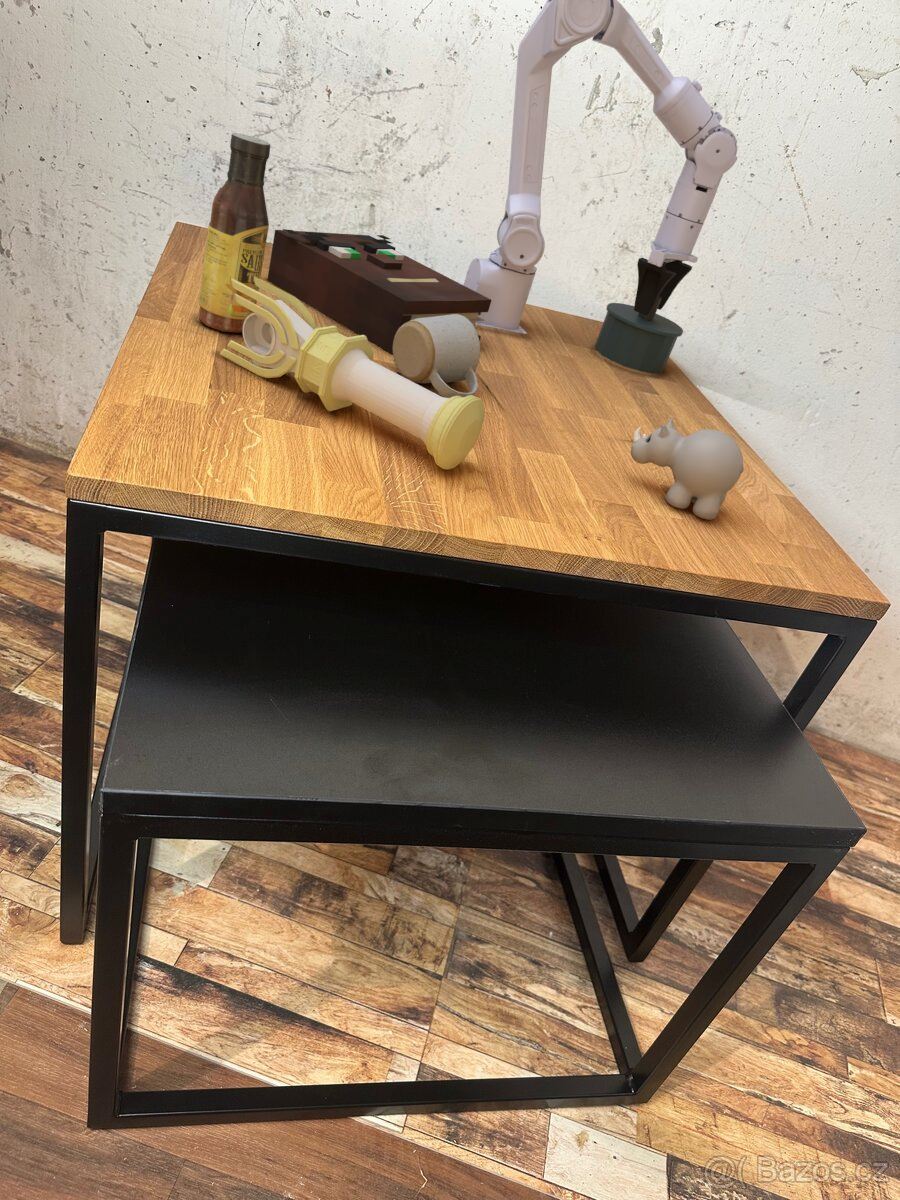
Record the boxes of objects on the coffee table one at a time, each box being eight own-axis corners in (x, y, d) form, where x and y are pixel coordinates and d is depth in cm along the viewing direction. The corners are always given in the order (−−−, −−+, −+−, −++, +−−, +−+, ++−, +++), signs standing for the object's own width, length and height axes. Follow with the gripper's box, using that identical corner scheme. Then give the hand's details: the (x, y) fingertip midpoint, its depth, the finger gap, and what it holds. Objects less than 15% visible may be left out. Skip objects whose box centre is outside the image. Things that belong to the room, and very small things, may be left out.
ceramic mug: (381, 367, 103) (397, 304, 98) (429, 364, 108) (446, 304, 104) (441, 408, 98) (461, 343, 93) (488, 403, 103) (509, 341, 99)
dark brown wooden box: (414, 301, 102) (257, 216, 115) (399, 363, 106) (249, 273, 119) (512, 300, 116) (361, 224, 129) (495, 354, 120) (351, 275, 133)
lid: (625, 332, 126) (637, 300, 124) (592, 304, 135) (603, 274, 133) (694, 346, 131) (707, 316, 128) (657, 318, 140) (669, 290, 137)
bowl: (611, 369, 130) (628, 327, 126) (582, 342, 138) (597, 302, 135) (673, 381, 134) (691, 341, 131) (641, 353, 142) (657, 315, 139)
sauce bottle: (239, 340, 97) (267, 149, 87) (187, 322, 98) (208, 129, 87) (261, 327, 103) (289, 146, 92) (211, 310, 103) (234, 127, 93)
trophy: (502, 392, 83) (267, 274, 92) (463, 406, 77) (216, 278, 86) (477, 467, 87) (254, 348, 96) (438, 486, 81) (205, 357, 91)
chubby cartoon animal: (627, 464, 99) (656, 394, 94) (725, 509, 96) (761, 439, 91) (608, 481, 93) (638, 408, 89) (712, 529, 90) (749, 456, 85)
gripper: (698, 228, 118) (658, 325, 125) (721, 225, 129) (683, 314, 137) (651, 210, 120) (615, 307, 127) (677, 209, 131) (643, 298, 138)
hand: (647, 310), depth 132 cm, fingers open, 7 cm apart
